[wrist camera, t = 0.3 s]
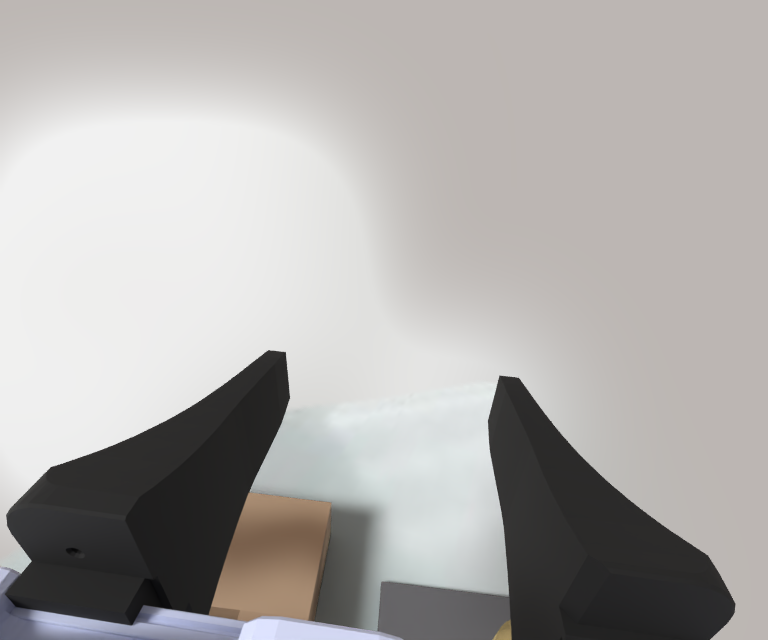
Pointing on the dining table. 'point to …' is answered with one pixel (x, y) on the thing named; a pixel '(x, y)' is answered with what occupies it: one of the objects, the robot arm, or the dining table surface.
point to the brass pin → (504, 632)
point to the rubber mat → (440, 613)
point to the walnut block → (274, 560)
